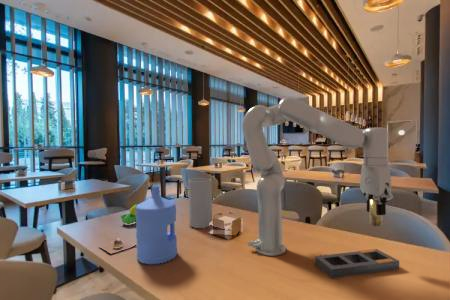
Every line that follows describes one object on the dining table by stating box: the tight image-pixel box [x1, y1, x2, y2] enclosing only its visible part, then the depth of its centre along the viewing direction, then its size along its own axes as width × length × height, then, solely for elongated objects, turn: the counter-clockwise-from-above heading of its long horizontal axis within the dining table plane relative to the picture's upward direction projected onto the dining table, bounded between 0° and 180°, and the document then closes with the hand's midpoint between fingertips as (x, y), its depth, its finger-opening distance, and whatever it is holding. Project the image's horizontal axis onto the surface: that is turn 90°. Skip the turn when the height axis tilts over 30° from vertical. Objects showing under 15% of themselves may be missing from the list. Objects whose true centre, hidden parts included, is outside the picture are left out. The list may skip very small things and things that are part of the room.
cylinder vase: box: [187, 177, 213, 229], centre depth 140 cm, size 12×12×25 cm
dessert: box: [112, 237, 124, 248], centre depth 113 cm, size 12×12×5 cm
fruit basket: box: [120, 203, 139, 224], centre depth 146 cm, size 11×9×11 cm
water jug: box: [135, 185, 178, 265], centre depth 103 cm, size 16×16×28 cm
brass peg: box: [369, 197, 383, 227], centre depth 92 cm, size 4×4×9 cm
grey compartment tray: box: [314, 248, 400, 280], centre depth 92 cm, size 26×10×3 cm, turn 101°
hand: (375, 212), depth 92 cm, fingers closed on brass peg, 4 cm apart
